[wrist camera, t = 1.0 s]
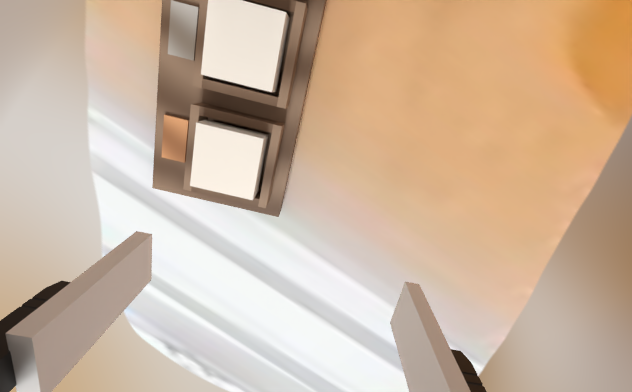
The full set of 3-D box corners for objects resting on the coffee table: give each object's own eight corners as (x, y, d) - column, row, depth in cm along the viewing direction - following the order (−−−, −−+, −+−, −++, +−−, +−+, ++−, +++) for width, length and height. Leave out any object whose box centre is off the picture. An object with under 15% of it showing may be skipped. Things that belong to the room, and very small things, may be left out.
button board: (185, -195, 24) (155, -255, 20) (357, -143, 25) (363, -190, 20) (161, 182, 35) (139, 195, 31) (280, 209, 36) (274, 226, 31)
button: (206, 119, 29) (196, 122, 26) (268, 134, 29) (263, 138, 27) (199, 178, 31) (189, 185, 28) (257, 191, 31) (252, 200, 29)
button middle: (219, -1, 25) (209, -9, 23) (289, 18, 26) (286, 12, 23) (211, 75, 27) (200, 74, 25) (276, 91, 28) (272, 92, 25)
